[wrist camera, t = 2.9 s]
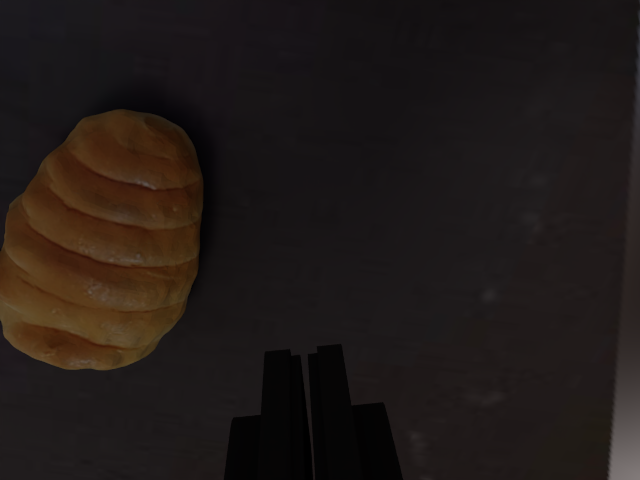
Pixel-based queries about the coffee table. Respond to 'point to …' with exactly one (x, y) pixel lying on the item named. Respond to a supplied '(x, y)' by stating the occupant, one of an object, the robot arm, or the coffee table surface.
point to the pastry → (103, 243)
